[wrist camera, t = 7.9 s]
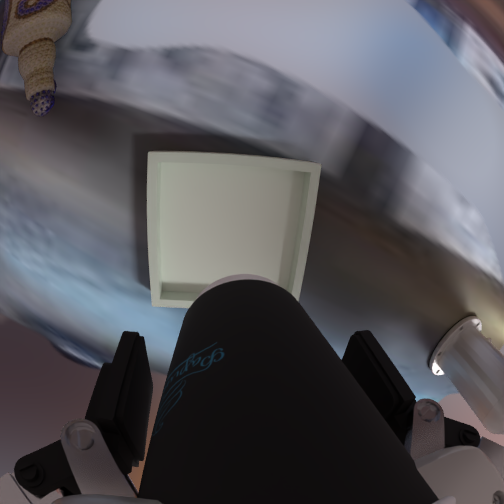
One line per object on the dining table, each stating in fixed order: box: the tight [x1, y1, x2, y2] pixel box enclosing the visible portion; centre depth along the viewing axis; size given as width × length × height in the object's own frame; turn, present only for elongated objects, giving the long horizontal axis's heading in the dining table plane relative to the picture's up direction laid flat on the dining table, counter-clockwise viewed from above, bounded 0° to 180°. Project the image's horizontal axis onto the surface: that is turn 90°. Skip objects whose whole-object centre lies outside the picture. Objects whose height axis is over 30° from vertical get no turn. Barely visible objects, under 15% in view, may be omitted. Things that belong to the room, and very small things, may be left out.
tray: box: [147, 151, 321, 308], centre depth 24 cm, size 14×14×2 cm
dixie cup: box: [138, 274, 456, 504], centre depth 8 cm, size 8×8×11 cm
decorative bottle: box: [1, 0, 72, 116], centre depth 10 cm, size 26×8×7 cm, turn 11°
